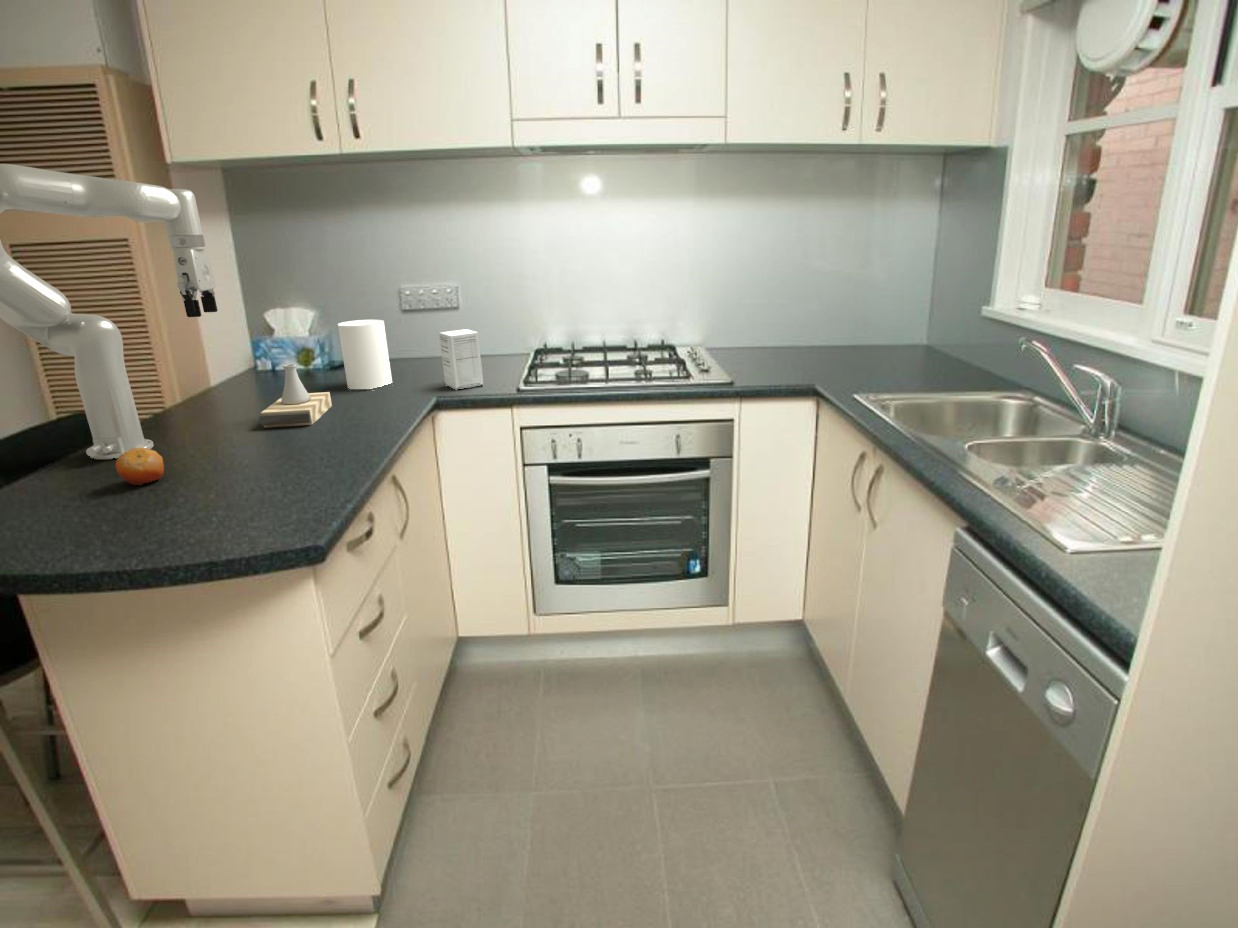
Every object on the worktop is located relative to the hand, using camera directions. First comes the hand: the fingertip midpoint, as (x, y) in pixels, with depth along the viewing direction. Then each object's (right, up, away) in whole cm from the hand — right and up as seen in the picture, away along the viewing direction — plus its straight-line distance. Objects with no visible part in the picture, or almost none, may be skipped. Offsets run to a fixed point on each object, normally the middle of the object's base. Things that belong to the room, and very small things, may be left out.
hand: (202, 314), depth 179 cm
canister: (+26, -13, +46) cm, 55 cm away
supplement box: (+57, -14, +42) cm, 72 cm away
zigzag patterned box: (+18, -25, +13) cm, 34 cm away
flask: (+18, -21, +12) cm, 30 cm away
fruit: (+8, -42, -34) cm, 54 cm away
